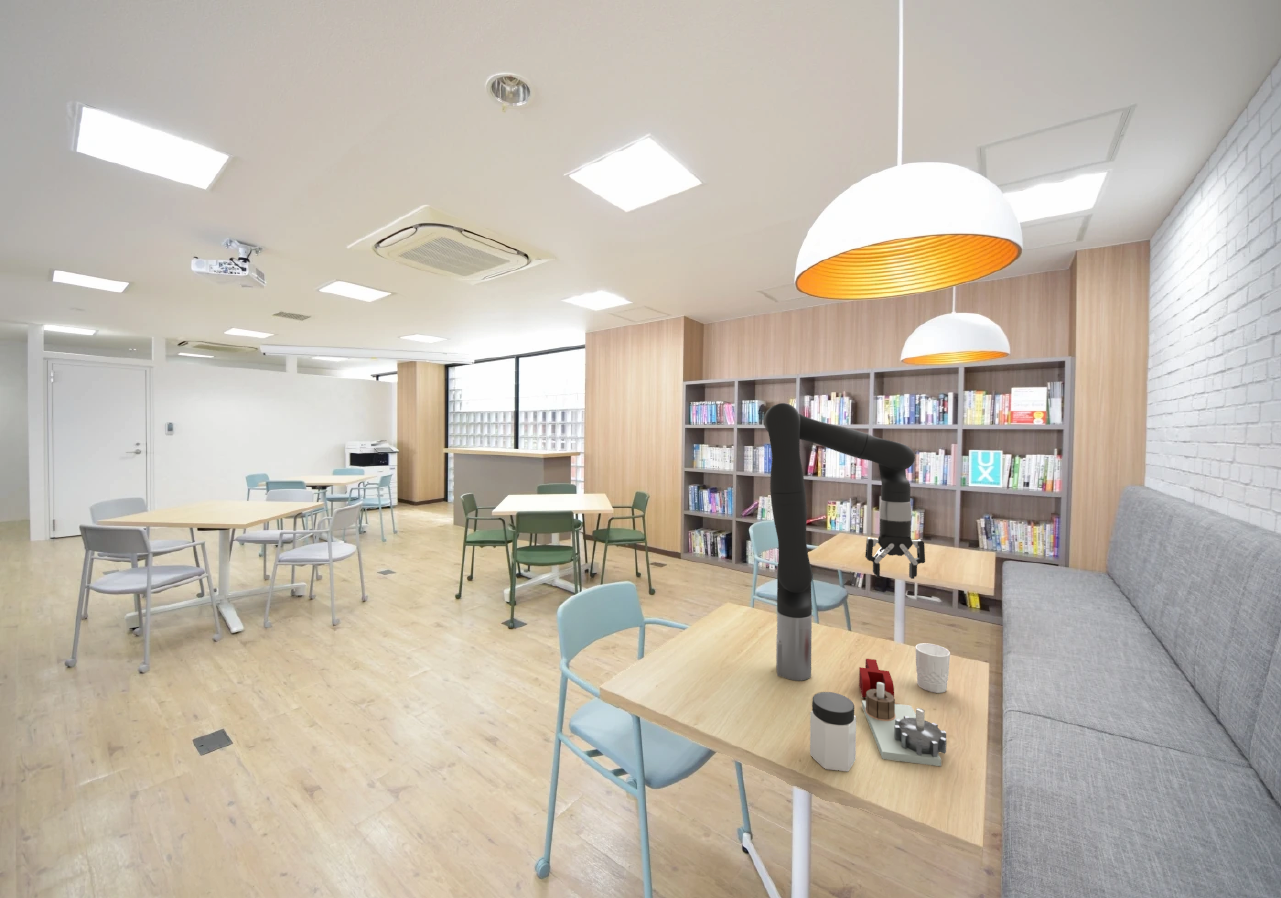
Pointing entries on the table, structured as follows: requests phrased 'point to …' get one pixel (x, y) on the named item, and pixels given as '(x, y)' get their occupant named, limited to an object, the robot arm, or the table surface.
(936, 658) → the white cup
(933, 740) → the fixed gear
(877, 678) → the mechanical linkage
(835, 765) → the jar
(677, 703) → the table surface
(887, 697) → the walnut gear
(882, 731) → the board
